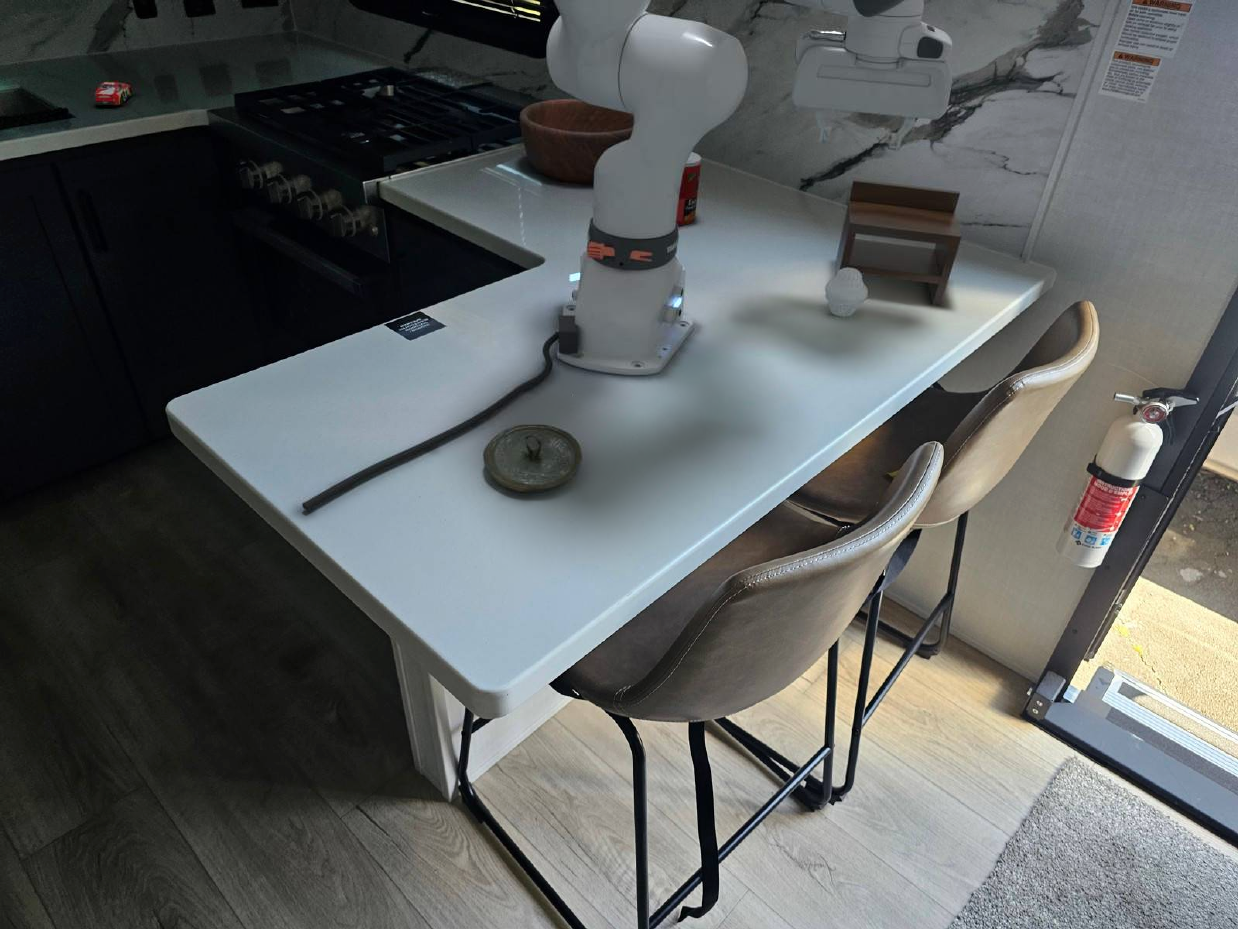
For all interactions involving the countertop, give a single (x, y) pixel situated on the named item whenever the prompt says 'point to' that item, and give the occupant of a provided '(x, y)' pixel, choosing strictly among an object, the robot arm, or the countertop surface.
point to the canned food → (689, 190)
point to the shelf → (901, 233)
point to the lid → (532, 457)
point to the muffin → (845, 292)
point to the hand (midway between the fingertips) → (858, 144)
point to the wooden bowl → (571, 136)
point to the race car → (112, 93)
